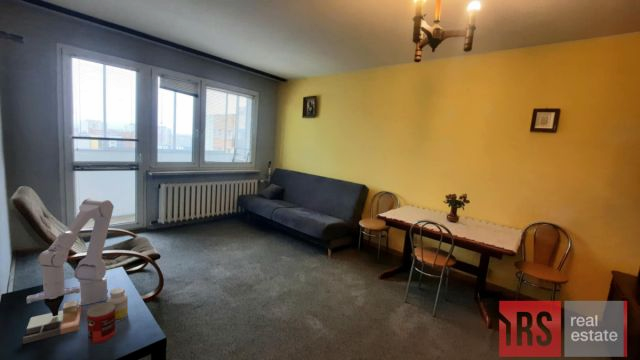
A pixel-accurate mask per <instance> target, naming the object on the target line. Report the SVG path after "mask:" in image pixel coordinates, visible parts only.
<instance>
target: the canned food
mask: <svg viewBox="0 0 640 360" xmlns="http://www.w3.org/2000/svg"><path fill="white" fill-rule="evenodd" d="M86 318H87V319H86V321H87V324H86V325H87V338H88V341H89V343H91V344H101V343H104V342H107V341H109V340H111V339H112V338H113V337H114V336H115V335H116V322H115V305H114V304H112V303H108V302H105V303H99V304H95V305H93V306H91V307H89V309H88V310H87V312H86Z"/></svg>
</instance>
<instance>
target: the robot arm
mask: <svg viewBox="0 0 640 360" xmlns="http://www.w3.org/2000/svg"><path fill="white" fill-rule="evenodd" d="M114 207H115V206H114V205H113V203H112V202H111V200H108V199H95V198H94V199H93V198H86V199H84V200H82V202H81V204H80V205H79V207H78V209H79V211H78V214H77V215H76V216H75V218H74V219H73V221H72V223H71V224H70V226H69V228H67V230H65V231H62V232H60V233H59V234H58V236H57V237H56V239H55V240H54V241H53V242H52V244H51V245H50V246H49V247H48V248H47V249H46V250H44V251H42V252H41V253H40V254H39V255H38V257H37V259H36V263H37V265H39V267H40V270H41V272H42V283H43V284H42V285H43V286H42V287H43V291H41V292H39V293H36V294H31V295H27V297H26V304H31V303H33V302H36V301H42V300H44V305H45V306H46V307H47V308H48V309H49V311H50V313H52V315H53V316H57V315H58V311H60V307H61V304H62V303H63V301H64V297H65V296H67V295H73V294H79V295H80V296H79V302H78V307H80V306H81V307H82V306H84V305H91V304H94V303H95V304H96V303H99V302H103V301H108V294H109V289H108V284H107V283H108V280H107V278H108V277H107V276H106V273H107V268H106V267H107V266H106V265H107V262H106V261H105V260H104V259H103V257H102V256H103V252H104V247H105V243H106V240H107V236H108V231H109V227H110V223H111V219H112V216H113V215H112V214H113V212H114ZM91 219H93V220H94V224H93V228H92V231H91V235H90V239H89V243H88V246H87V247H88V248H87V251H86V254H85V257H84V258H83V259H80V261H79V262H78V264H77V267H76V268H75V270H74V274H73V277H74V278H75V279H76V280H77V282H79V286H71V287H69V286H68V287H65V275H64V274H65V273H64V272H65V271H64V264H65V263H66V262H67V260H68V257H69V254H70V250H71V249H72V247H73V246H74V244H75V243H76V242H77V240H78V234H79V233H80V232H81V230H82V229H83V228H84V226H86V224H87V223H88V222H89V221H90V220H91Z"/></svg>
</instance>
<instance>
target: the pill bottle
mask: <svg viewBox="0 0 640 360" xmlns="http://www.w3.org/2000/svg"><path fill="white" fill-rule="evenodd" d="M125 292H126V290H125V288H124V287H116V288H113V289H111V290H110V292H109V295H110V296H109V297H108V298H107V303H112V304H114V305H115V323H117V322H120V321H122V320H124V319H126V317H127V316H128V314H129V307H128V305H129V304H128V303H129V301H128V300H129V299H128V294H126V293H125Z"/></svg>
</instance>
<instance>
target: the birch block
mask: <svg viewBox="0 0 640 360" xmlns="http://www.w3.org/2000/svg"><path fill="white" fill-rule="evenodd" d="M78 307H79V302H78V300H73V301H69V302H64V303H63V306H62V310H63V318H66V317H70V316H74V315H77V312H78Z"/></svg>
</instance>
